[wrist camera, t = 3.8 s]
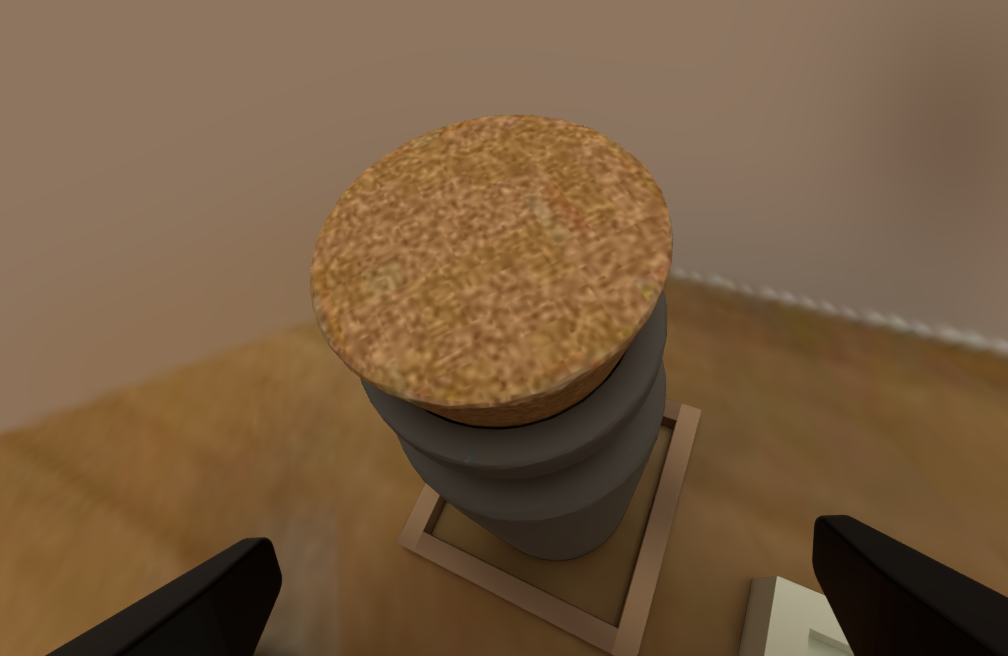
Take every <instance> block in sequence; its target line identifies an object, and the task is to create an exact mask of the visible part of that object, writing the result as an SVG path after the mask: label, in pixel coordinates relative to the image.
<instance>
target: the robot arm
mask: <svg viewBox="0 0 1008 656" xmlns="http://www.w3.org/2000/svg"><path fill="white" fill-rule="evenodd" d="M812 563H813V569H814V572H815V575H816V578H817V580H818V582H819V584H820V586H821V588H822V590H823V592H824V594H825V596H826V599H827V601H828V603H829V605H830V607H831V609H832V611H833V613H834V615H835V617H836V619H837V621H838V623H839V625H840V627H841V629H842V632H843V634H844V636H845V638H846V640H847V642H848V644H849V646H850V648H851V650H852V652H853V654H854V656H1008V597H1006V596H1004V595H1002V594H1000V593H998V592H996V591H994V590H992V589H990V588H988V587H986V586H984V585H983V584H981V583H979V582H977V581H975V580H973V579H971V578H969V577H967V576H965V575H963V574H961V573H959V572H957V571H955V570H953V569H951V568H949V567H948V566H946V565H944V564H942V563H940V562H938V561H936V560H934V559H932V558H930V557H928V556H926V555H924V554H922V553H920V552H918V551H916V550H915V549H913V548H911V547H909V546H907V545H905V544H903V543H901V542H899V541H897V540H895V539H893V538H891V537H889V536H887V535H885V534H883V533H882V532H880V531H878V530H876V529H874V528H872V527H870V526H868V525H866V524H864V523H862V522H860V521H858V520H856V519H854V518H852V517H850V516H847V515H825V516H819V517H818V518H817V519H816V521H815V524H814V538H813V554H812ZM281 585H282V574H281V570H280V567H279V564H278V560H277V557H276V554H275V550H274V547H273V544H272V542H271V541H270V540H269V539H268V538H265V537H260V538H246V539H243V540H241V541H239V542H238V543H236V544H234V545H232V546H231V547H229V548H227V549H226V550H224V551H222V552H221V553H219V554H217V555H215V556H214V557H212V558H210V559H209V560H207V561H205V562H204V563H202V564H200V565H198V566H197V567H195V568H193V569H192V570H190V571H188V572H187V573H185V574H183V575H181V576H180V577H178V578H176V579H175V580H173V581H171V582H170V583H168V584H166V585H165V586H163V587H161V588H159V589H158V590H156V591H154V592H153V593H151V594H149V595H148V596H146V597H144V598H142V599H141V600H139V601H137V602H136V603H134V604H132V605H131V606H129V607H127V608H125V609H124V610H122V611H120V612H119V613H117V614H115V615H114V616H112V617H110V618H108V619H107V620H105V621H103V622H102V623H100V624H98V625H97V626H95V627H93V628H92V629H90V630H88V631H86V632H85V633H83V634H81V635H80V636H78V637H76V638H75V639H73V640H71V641H69V642H68V643H66V644H64V645H63V646H61V647H59V648H58V649H56V650H54V651H52V652H51V653H49V654H47V655H46V656H253V654H254V652H255V650H256V647H257V645H258V642H259V640H260V638H261V635H262V633H263V630H264V628H265V626H266V623H267V621H268V618H269V616H270V614H271V611H272V609H273V606H274V604H275V602H276V599H277V597H278V595H279V592H280V589H281Z"/></svg>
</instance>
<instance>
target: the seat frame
mask: <svg viewBox="0 0 1008 656" xmlns="http://www.w3.org/2000/svg"><path fill="white" fill-rule="evenodd" d="M700 414H701V410H700V409H697V408H694V407H691V406H688V405H685V404H682V403H679V402H676V401H673V400H670V399H667V398H666V399H665V410H664V414H663V418H662V422H661V425H664V426H667V427H670V428H673V431H672V434H671V438H670V441H669V445H668V448H667V452H666V455H665V459H664V462H663V466H662V469H661V473H660V476H659V480H658V484H657V487H656V491H655V494H654V498H653V501H652V505H651V508H650V512H649V515H648V519H647V522H646V526H645V530H644V533H643V537H642V540H641V544H640V547H639V551H638V554H637V558H636V561H635V565H634V568H633V572H632V575H631V579H630V583H629V586H628V590H627V593H626V597H625V600H624V604H623V607H622V611H621V614H620V618H619V621H618V625H617V627H615V626H613V625H611V624H609V623H607V622H605V621H603V620H601V619H599V618H597V617H595V616H593V615H591V614H589V613H587V612H585V611H583V610H581V609H579V608H577V607H575V606H573V605H571V604H569V603H567V602H565V601H563V600H561V599H559V598H557V597H555V596H553V595H551V594H549V593H547V592H545V591H543V590H541V589H539V588H537V587H535V586H533V585H531V584H529V583H527V582H525V581H523V580H521V579H519V578H517V577H515V576H513V575H511V574H509V573H507V572H505V571H503V570H501V569H499V568H497V567H495V566H493V565H491V564H489V563H487V562H485V561H483V560H481V559H479V558H477V557H475V556H473V555H471V554H469V553H467V552H465V551H463V550H460V549H458V548H456V547H454V546H452V545H450V544H448V543H446V542H444V541H442V540H440V539H438V538H436V537H434V536H432V535H430V534H431V532H432V530H433V528H434V526H435V523H436V521H437V519H438V517H439V515H440V513H441V511H442V508H443V506H444V504H445V502H446V500H444V499H443V498H442V497H441V496H440V495H439V494H438V493H437V492H436V491H434V490H433V489H432V488H431V487H430V486H429V485H428V484H427V483H426V484H425V486H424V488H423V490H422V492H421V494H420V496H419V498H418V500H417V502H416V504H415V506H414V508H413V510H412V512H411V514H410V516H409V518H408V520H407V522H406V524H405V526H404V528H403V530H402V533H401V535H400V537H399V539H398V541H397V543H398V544H399V545H401V546H403V547H405V548H407V549H409V550H411V551H413V552H415V553H417V554H419V555H421V556H423V557H424V558H426V559H428V560H430V561H432V562H434V563H436V564H438V565H440V566H442V567H444V568H446V569H448V570H450V571H451V572H453V573H455V574H457V575H459V576H461V577H463V578H465V579H467V580H469V581H471V582H473V583H475V584H477V585H478V586H480V587H482V588H484V589H486V590H488V591H490V592H492V593H494V594H496V595H498V596H500V597H502V598H504V599H505V600H507V601H509V602H511V603H513V604H515V605H517V606H519V607H521V608H523V609H525V610H527V611H529V612H530V613H532V614H534V615H536V616H538V617H540V618H542V619H544V620H546V621H548V622H550V623H552V624H554V625H556V626H557V627H559V628H561V629H563V630H565V631H567V632H569V633H571V634H573V635H575V636H577V637H579V638H581V639H583V640H584V641H586V642H588V643H590V644H592V645H594V646H596V647H598V648H600V649H602V650H604V651H606V652H608V653H609V654H611V655H613V656H638V652H639V648H640V644H641V641H642V637H643V633H644V629H645V625H646V621H647V618H648V614H649V610H650V606H651V602H652V598H653V595H654V591H655V587H656V583H657V579H658V575H659V572H660V568H661V564H662V560H663V556H664V552H665V549H666V545H667V541H668V537H669V533H670V529H671V525H672V522H673V518H674V514H675V510H676V506H677V502H678V499H679V495H680V491H681V487H682V483H683V479H684V476H685V472H686V468H687V464H688V460H689V456H690V453H691V449H692V445H693V441H694V437H695V433H696V430H697V426H698V422H699V418H700Z"/></svg>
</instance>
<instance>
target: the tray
mask: <svg viewBox="0 0 1008 656" xmlns="http://www.w3.org/2000/svg"><path fill="white" fill-rule="evenodd" d="M738 656H854V654H853V652H852V650H851V648H850V646H849V644H848V642H847V640H846V638H845V636H844V634H843V632H842V629H841V627H840V625H839V623H838V621H837V619H836V617H835V615H834V613H833V611H832V609H831V607H830V605H829V603H828V601H827V599H826V596H824V595H822V594H819V593H817V592H815V591H812V590H810V589H807V588H805V587H803V586H800V585H798V584H795V583H793V582H791V581H788V580H786V579H783V578H781V577H779V576H772V577H764V578H755V579H752V582H751V588H750V593H749V599H748V604H747V610H746V615H745V621H744V626H743V632H742V637H741V642H740V648H739V653H738Z"/></svg>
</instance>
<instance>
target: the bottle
mask: <svg viewBox="0 0 1008 656" xmlns="http://www.w3.org/2000/svg"><path fill="white" fill-rule="evenodd" d="M672 249H673V234H672V226H671V219H670V215H669V212H668V208H667V206H666V202H665V200H664V197H663V194H662V191H661V189H660V188H659V186H658V185H657V183H656V182H655V180H654V179H653V177H652V176H651V174H650V173H649V172H648V170H647V169H646V167H645V166H644V165H643V164H642V163H641V162H640V161H639V160H637V158H635V157H634V156H633V155H632V154H631V153H630V152H628V151H627V150H626V149H625V148H624V147H622V146H621V145H620V144H618V143H617V142H615V141H614V140H613V139H611V138H609V137H607V136H605V135H603V134H601V133H599V132H597V131H595V130H593V129H590V128H587V127H584V126H581V125H578V124H575V123H572V122H568V121H566V120H562V119H555V118H548V117H541V116H534V115H501V116H490V117H485V118H479V119H472V120H466V121H462V122H458V123H454V124H450V125H447V126H444V127H441V128H439V129H436V130H433V131H431V132H428V133H426V134H423V135H421V136H419V137H417V138H414V139H412V140H410V141H409V142H407V143H405V144H404V145H402V146H400V147H398V148H397V149H395V150H393V151H392V152H390V153H389V154H387V155H385V156H384V157H382V158H381V159H379V160H378V161H377V162H376V163H374V164H373V165H372V166H371V167H369V168H368V169H367V170H366V171H364V172H363V173H362V174H361V175H360V176H359V177H358V178H357V180H355V181H354V182H353V183H352V184H351V185H350V186H349V188H348V189H347V190H346V191H345V192H344V194H343V195H342V196H341V197H340V199H339V200H338V202H337V203H336V205H335V206H334V208H333V210H332V211H331V213H330V214H329V216H328V218H327V219H326V221H325V222H324V224H323V227H322V229H321V232H320V234H319V237H318V239H317V242H316V244H315V248H314V254H313V259H312V265H311V272H310V290H311V300H312V307H313V310H314V313H315V317H316V320H317V324H318V326H319V328H320V330H321V332H322V333H323V335H324V337H325V339H326V341H327V342H328V344H329V346H330V347H331V348H332V350H333V351H334V352H335V353H336V354H337V355H338V356H339V358H340V359H341V360H342V361H343V362H344V363H345V364H346V366H347V367H348V368H349V369H350V370H351V371H352V372H354V373H355V374H356V375H358V376H359V377H360V378H361V382H362V385H363V387H364V389H365V391H366V393H367V395H368V397H369V399H370V401H371V403H372V404H373V406H374V407H375V409H376V410H377V411H378V413H379V414H380V416H381V417H382V418H383V420H384V421H385V422H386V423H387V424H388V425H389V426H390V427H391V428H392V429H393V431H394V432H395V433H396V434H397V436H398V438H399V441H400V443H401V445H402V448H403V450H404V452H405V454H406V455H407V457H408V459H409V461H410V462H411V464H412V466H413V467H414V468H415V470H416V471H417V472H418V474H419V475H420V476H421V478H422V479H423V480H424V482H426V483H427V484H428V485H429V486H430V487H431V488H432V489H433V490H434V491H436V492H437V493H438V494H439V495H440V496H441V497H442V498H443V499H444V500H446V501H447V502H448V503H450V504H451V505H453V506H454V507H455V508H457V509H458V510H459V511H461V512H462V513H463V514H465V515H466V516H468V517H469V518H470V519H472V520H473V521H475V522H476V523H478V524H479V525H481V526H482V527H484V528H485V529H487V530H488V531H490V532H491V533H493V534H494V535H496V536H497V537H499V538H500V539H502V540H503V541H505V542H506V543H508V544H509V545H511V546H513V547H514V548H516V549H518V550H519V551H521V552H523V553H526V554H528V555H531V556H534V557H537V558H540V559H546V560H567V559H573V558H577V557H580V556H583V555H585V554H587V553H589V552H591V551H593V550H594V549H596V548H598V547H599V546H600V545H601V544H602V543H603V542H605V541H606V540H607V539H608V538H609V537H610V536H611V535H612V533H613V532H614V531H615V529H616V528H617V526H618V525H619V523H620V521H621V519H622V517H623V516H624V514H625V512H626V510H627V507H628V505H629V503H630V501H631V498H632V496H633V494H634V492H635V489H636V487H637V485H638V483H639V480H640V478H641V476H642V474H643V471H644V469H645V466H646V464H647V462H648V459H649V457H650V454H651V452H652V450H653V447H654V445H655V442H656V440H657V437H658V433H659V429H660V426H661V422H662V418H663V414H664V410H665V399H666V374H665V369H664V365H663V360H662V356H663V352H664V347H665V342H666V337H667V306H666V299H665V295H664V288H665V286H666V282H667V278H668V274H669V270H670V266H671V262H672Z"/></svg>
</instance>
